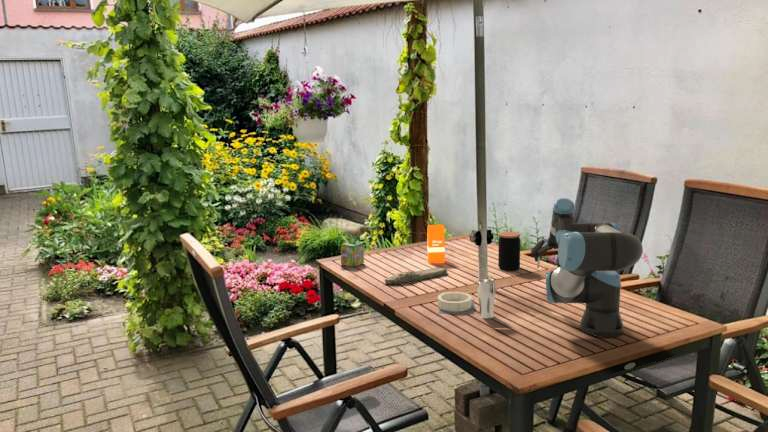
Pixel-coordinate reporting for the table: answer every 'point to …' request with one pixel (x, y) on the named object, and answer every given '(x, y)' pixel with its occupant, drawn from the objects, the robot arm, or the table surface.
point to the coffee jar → (509, 251)
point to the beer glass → (486, 297)
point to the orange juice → (436, 244)
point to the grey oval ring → (470, 311)
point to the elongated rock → (415, 275)
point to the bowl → (454, 301)
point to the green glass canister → (352, 253)
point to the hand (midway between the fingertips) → (554, 266)
